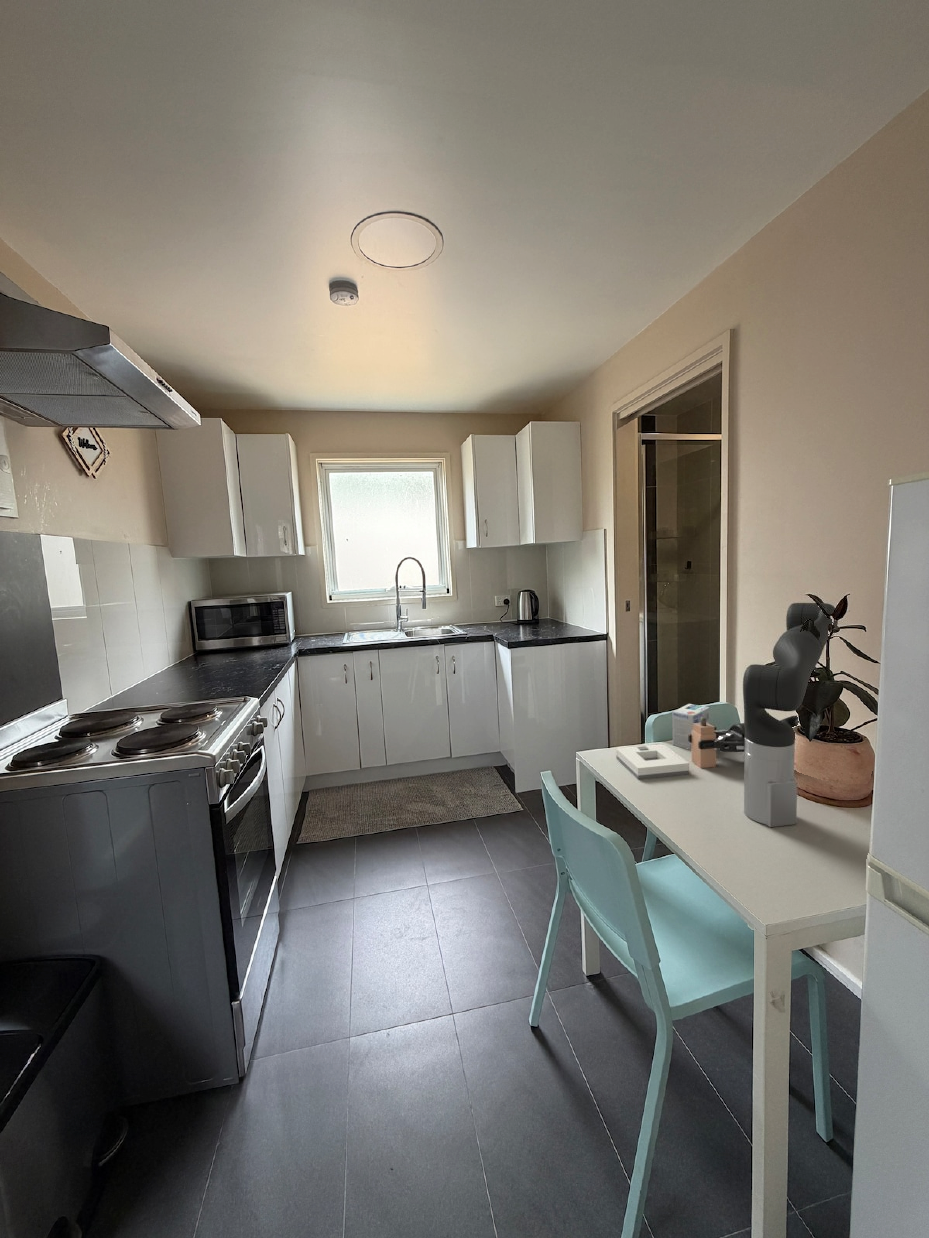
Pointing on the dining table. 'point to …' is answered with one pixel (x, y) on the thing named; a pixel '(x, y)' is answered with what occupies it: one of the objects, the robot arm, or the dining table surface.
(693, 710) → the light bulb box
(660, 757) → the socket plate
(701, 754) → the plug
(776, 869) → the dining table surface
